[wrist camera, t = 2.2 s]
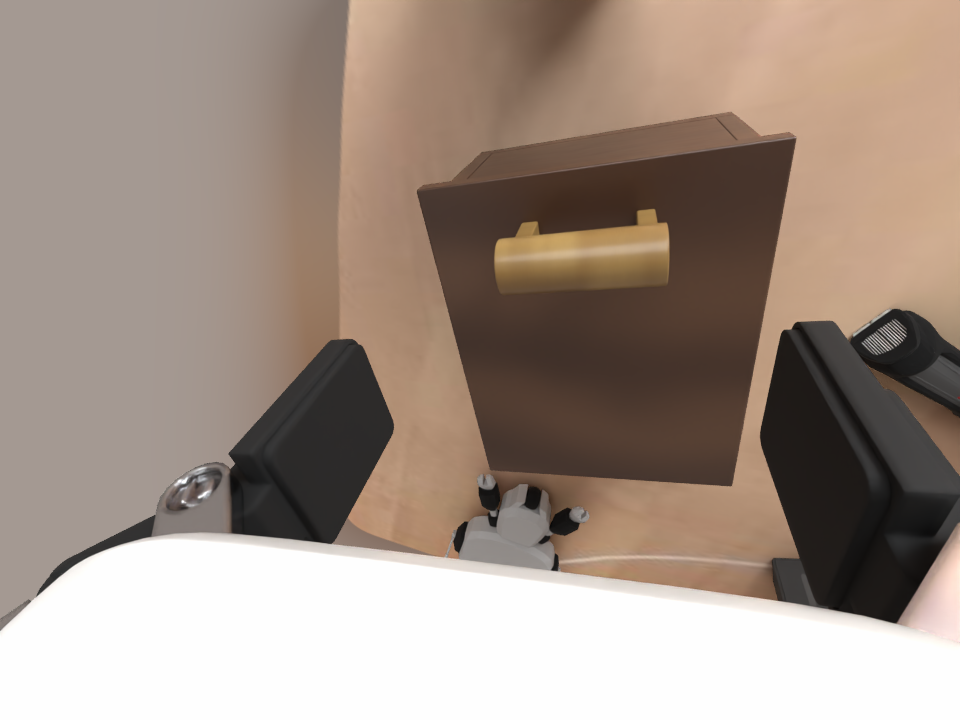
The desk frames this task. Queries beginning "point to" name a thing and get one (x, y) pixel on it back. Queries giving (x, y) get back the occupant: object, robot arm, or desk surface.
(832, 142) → the desk surface
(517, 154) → the brown hollow rectangular box
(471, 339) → the lid
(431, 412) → the desk surface
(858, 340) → the electric trimmer
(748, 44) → the desk surface
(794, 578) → the walkie-talkie
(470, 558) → the robot toy
